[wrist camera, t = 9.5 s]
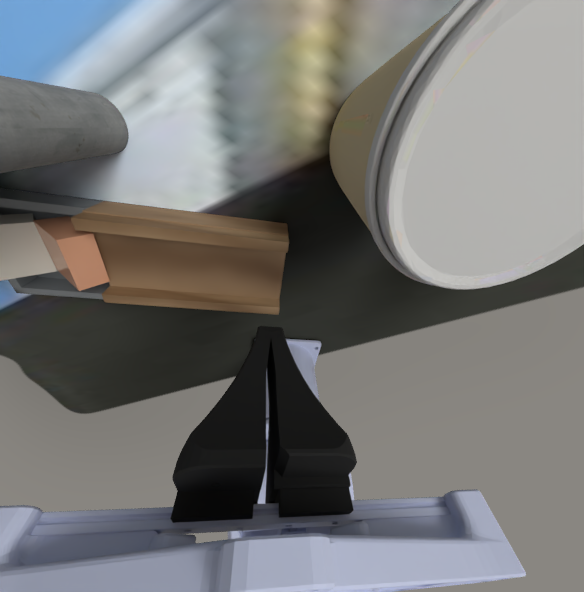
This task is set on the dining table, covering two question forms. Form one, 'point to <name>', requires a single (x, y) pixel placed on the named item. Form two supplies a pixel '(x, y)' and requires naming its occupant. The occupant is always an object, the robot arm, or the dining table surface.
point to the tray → (45, 208)
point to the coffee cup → (472, 144)
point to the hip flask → (55, 125)
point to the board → (187, 257)
